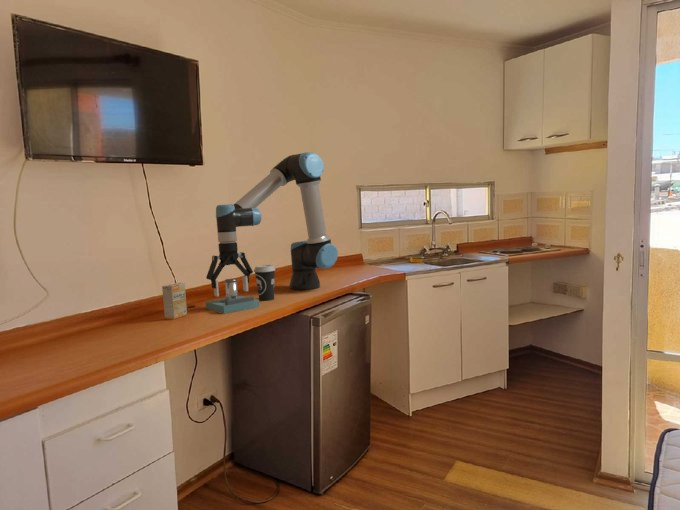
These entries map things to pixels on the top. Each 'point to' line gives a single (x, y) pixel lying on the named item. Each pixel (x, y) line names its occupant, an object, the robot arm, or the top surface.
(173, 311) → the supplement box
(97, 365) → the top surface
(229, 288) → the metal cylinder
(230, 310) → the jig
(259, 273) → the coffee cup
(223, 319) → the top surface
